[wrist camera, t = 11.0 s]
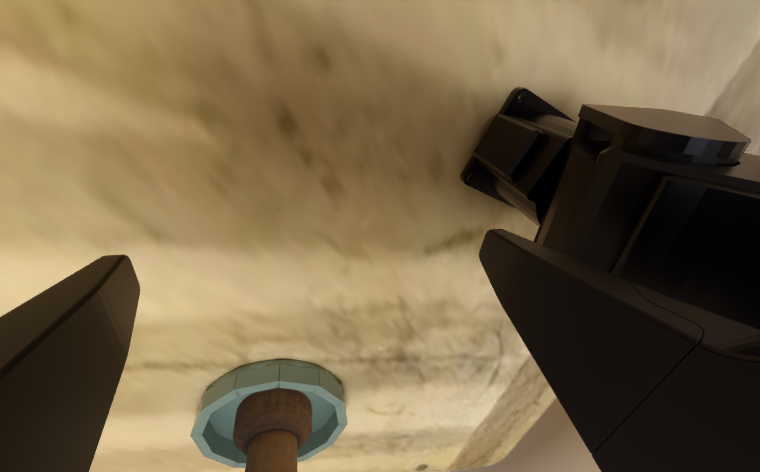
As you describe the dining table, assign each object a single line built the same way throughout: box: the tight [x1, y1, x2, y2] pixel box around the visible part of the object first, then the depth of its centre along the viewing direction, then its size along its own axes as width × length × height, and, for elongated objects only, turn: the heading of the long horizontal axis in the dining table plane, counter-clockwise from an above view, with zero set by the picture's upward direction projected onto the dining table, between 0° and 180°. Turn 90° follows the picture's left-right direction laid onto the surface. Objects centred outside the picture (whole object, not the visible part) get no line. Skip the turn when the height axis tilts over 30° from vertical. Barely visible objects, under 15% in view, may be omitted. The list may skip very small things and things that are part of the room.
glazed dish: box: [191, 360, 347, 468], centre depth 30 cm, size 13×13×2 cm
